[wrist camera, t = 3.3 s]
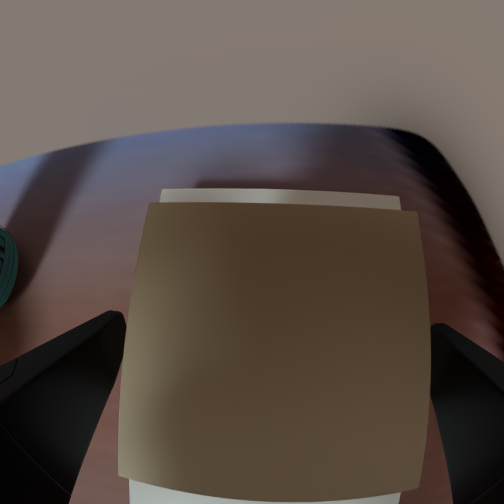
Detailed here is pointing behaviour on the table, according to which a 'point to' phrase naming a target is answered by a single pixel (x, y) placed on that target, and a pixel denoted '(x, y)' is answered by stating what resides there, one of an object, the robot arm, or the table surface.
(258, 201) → the block
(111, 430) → the table surface
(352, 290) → the plug
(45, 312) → the table surface
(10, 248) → the beverage bottle
